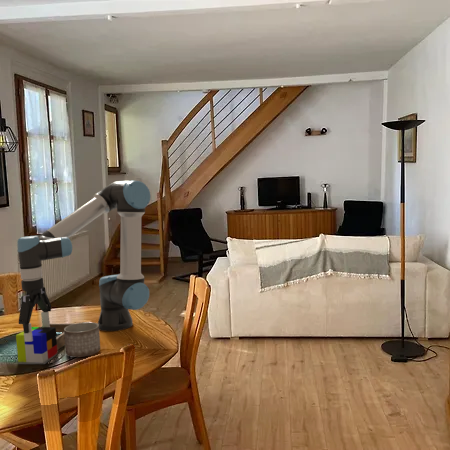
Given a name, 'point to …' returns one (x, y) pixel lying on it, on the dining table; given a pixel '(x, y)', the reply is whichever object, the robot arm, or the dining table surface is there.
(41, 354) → the puzzle toy
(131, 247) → the robot arm
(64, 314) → the dining table surface
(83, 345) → the planter
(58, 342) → the pocket frame
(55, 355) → the mat
